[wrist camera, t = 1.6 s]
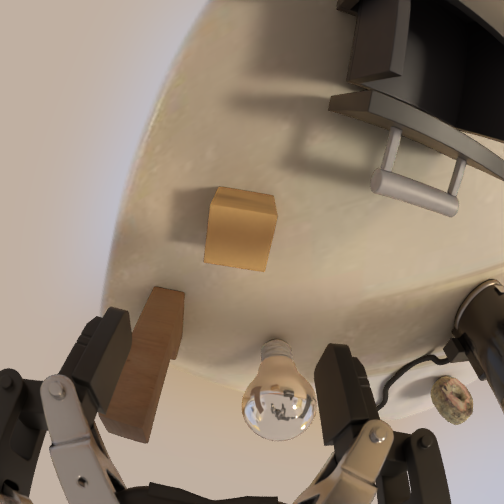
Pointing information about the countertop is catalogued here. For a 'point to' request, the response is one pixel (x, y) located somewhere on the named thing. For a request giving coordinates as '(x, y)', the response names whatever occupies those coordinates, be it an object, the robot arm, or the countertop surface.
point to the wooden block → (146, 366)
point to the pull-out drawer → (426, 91)
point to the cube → (240, 229)
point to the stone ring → (452, 400)
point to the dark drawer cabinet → (471, 3)
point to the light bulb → (278, 396)
